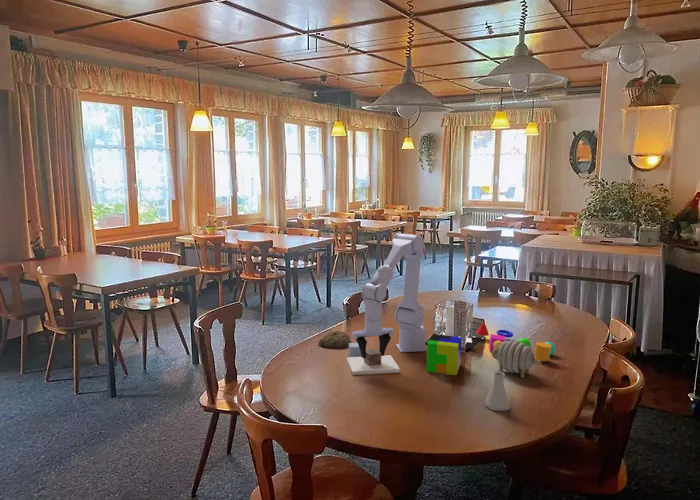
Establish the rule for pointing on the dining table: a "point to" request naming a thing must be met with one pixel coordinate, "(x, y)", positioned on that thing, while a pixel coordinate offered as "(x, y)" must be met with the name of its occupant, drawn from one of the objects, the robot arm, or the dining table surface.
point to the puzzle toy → (443, 354)
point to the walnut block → (373, 357)
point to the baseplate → (361, 367)
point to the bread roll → (335, 340)
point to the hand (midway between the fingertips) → (372, 356)
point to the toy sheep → (515, 357)
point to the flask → (497, 394)
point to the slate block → (354, 350)
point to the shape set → (541, 348)
